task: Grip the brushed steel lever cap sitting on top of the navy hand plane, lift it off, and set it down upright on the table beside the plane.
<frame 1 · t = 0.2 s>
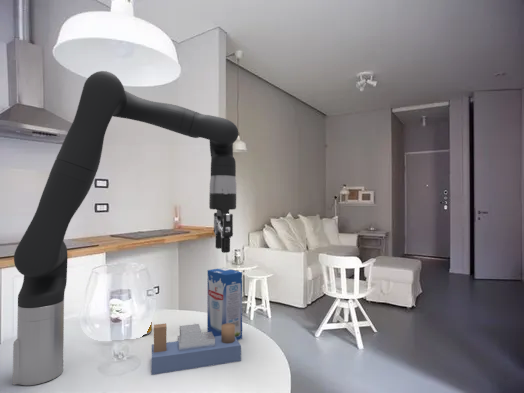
hand: (222, 250, 93), 28 cm above the table, tool pointing down, fingers open, 8 cm apart
lever cap: (196, 344, 86), point 4 cm above the table, touching hand plane
milk carton: (224, 337, 102), on the table
hand plane: (196, 360, 86), on the table
beer can: (141, 334, 104), on the table
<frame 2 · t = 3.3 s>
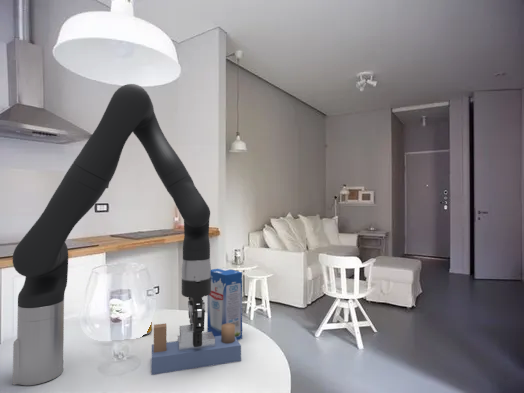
hand: (196, 341, 86), 5 cm above the table, tool pointing down, fingers closed on lever cap, 5 cm apart
lever cap: (196, 344, 86), point 4 cm above the table, touching gripper, hand plane
everything else where it was.
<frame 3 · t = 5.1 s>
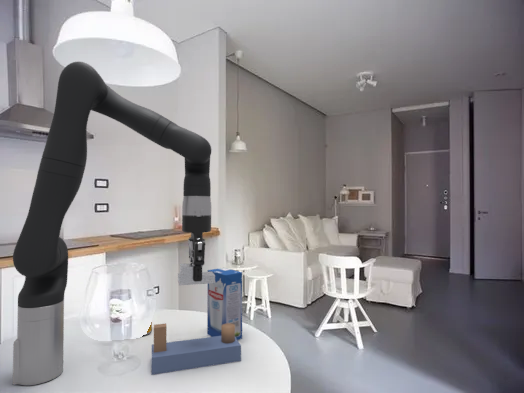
hand: (196, 278, 87), 21 cm above the table, tool pointing down, fingers closed on lever cap, 5 cm apart
lever cap: (196, 282, 87), point 20 cm above the table, touching gripper
everything else where it was.
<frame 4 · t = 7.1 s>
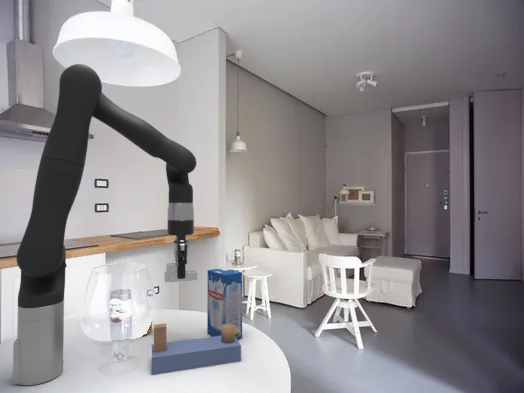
hand: (180, 276, 97), 20 cm above the table, tool pointing down, fingers closed on lever cap, 5 cm apart
lever cap: (180, 279, 97), point 19 cm above the table, touching gripper
everything else where it was.
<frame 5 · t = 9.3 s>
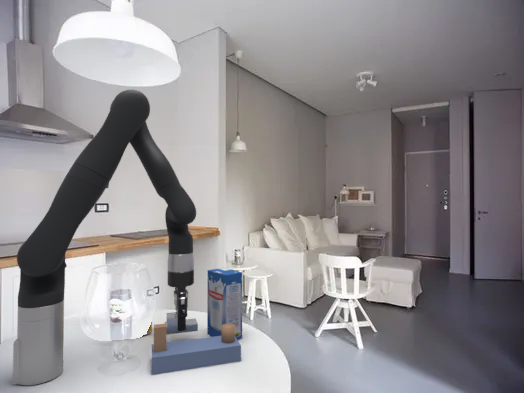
hand: (180, 326, 97), 5 cm above the table, tool pointing down, fingers closed on lever cap, 5 cm apart
lever cap: (181, 329, 97), point 4 cm above the table, touching gripper
everything else where it was.
when the fingers open (2 cm above the table, at t = 10.9 s): lever cap drops 2 cm, on the table.
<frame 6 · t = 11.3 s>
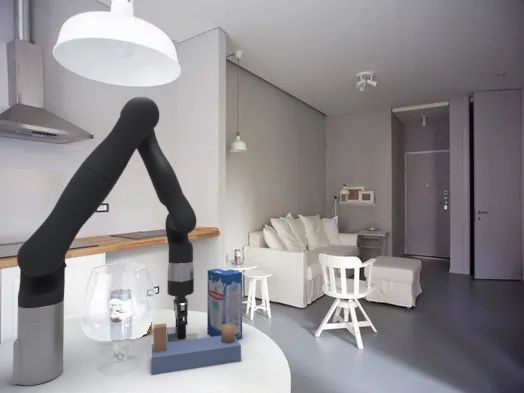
hand: (180, 333, 97), 3 cm above the table, tool pointing down, fingers open, 8 cm apart
lever cap: (181, 344, 97), on the table
everything else where it was.
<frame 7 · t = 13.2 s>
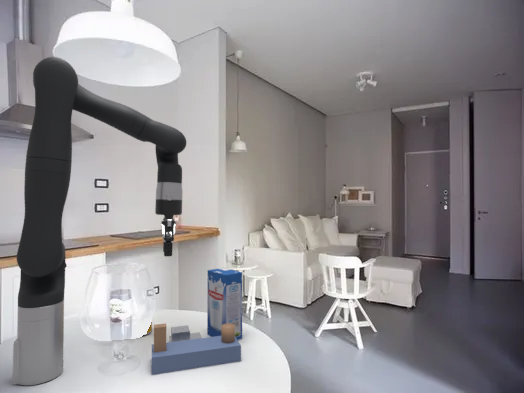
hand: (167, 254, 97), 26 cm above the table, tool pointing down, fingers open, 8 cm apart
lever cap: (185, 344, 97), on the table
everything else where it was.
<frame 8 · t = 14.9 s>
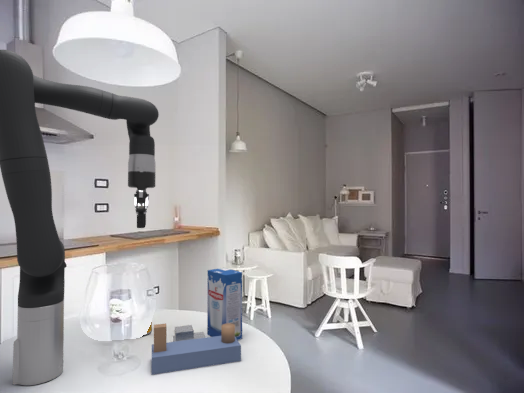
hand: (141, 227, 96), 34 cm above the table, tool pointing down, fingers open, 8 cm apart
lever cap: (189, 343, 97), on the table
everything else where it was.
at the end: lever cap inside the target area (2.6 cm from its centre), on the table; lever cap tilted 0°; the gripper is holding nothing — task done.
